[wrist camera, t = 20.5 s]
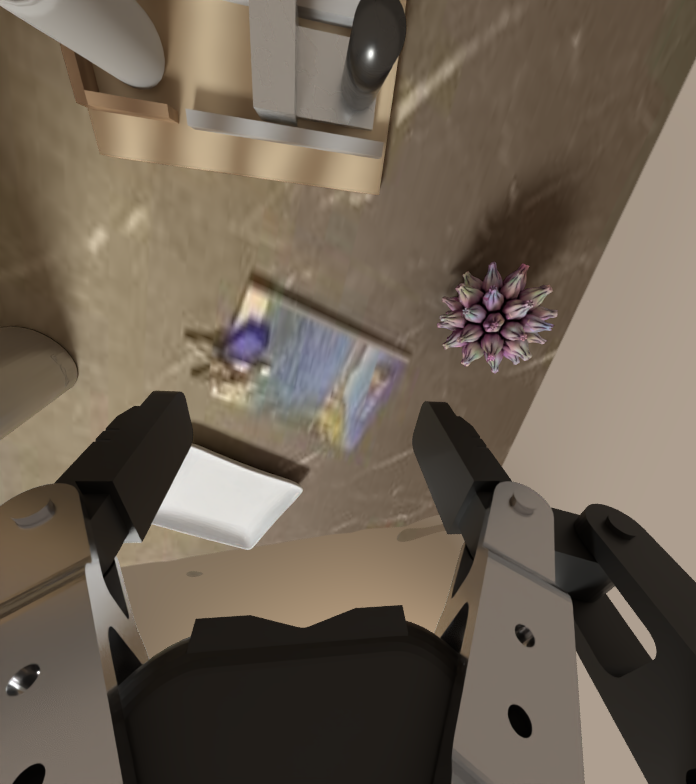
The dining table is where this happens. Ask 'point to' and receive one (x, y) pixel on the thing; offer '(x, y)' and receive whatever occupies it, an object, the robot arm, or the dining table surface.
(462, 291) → the flower
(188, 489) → the salad plate
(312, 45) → the press block
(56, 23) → the beverage can
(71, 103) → the dining table surface
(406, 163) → the dining table surface
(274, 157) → the wooden tray
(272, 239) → the dining table surface
